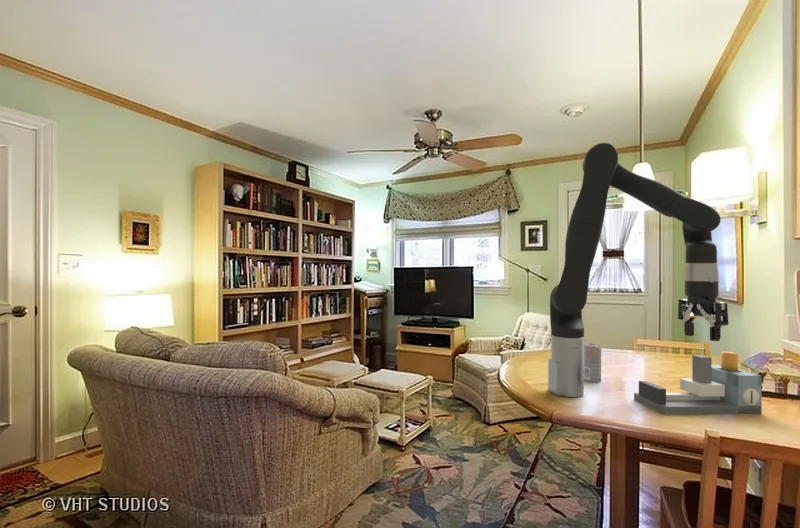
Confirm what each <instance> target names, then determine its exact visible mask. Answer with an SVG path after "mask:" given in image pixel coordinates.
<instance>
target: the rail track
mask: <svg viewBox="0 0 800 528" xmlns="http://www.w3.org/2000/svg"><path fill="white" fill-rule="evenodd" d="M711 381H713V382H716V383H720V384H723V385H725V396H709V397H700V396H697V395H695V394H692V393H689V392H667V388H665V387H662V386H659V385H657V384H655V383H653V382H649V381H647V380H638V392H633V400H634V401H635V402H638V403H639V404H642V405H644V406H646V407H647V408H650V409H652V410H654V411H656V412H658V413H661V414H662V415H664V416H665V415H667V416H668V415H672V414H673V415H746V414H748V415H752V414H754V415H755V414H757V415H759V414H761V415H762V413H763V412H762V405H763V404H762V394H763V393H762V392H763V391H762V387H763V386H762V375H761V374H758V373H754V372H750V371H747V370H742V369H739V368H738V370H736V371H735V370H726V369H722V368H721V364H711Z"/></svg>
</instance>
